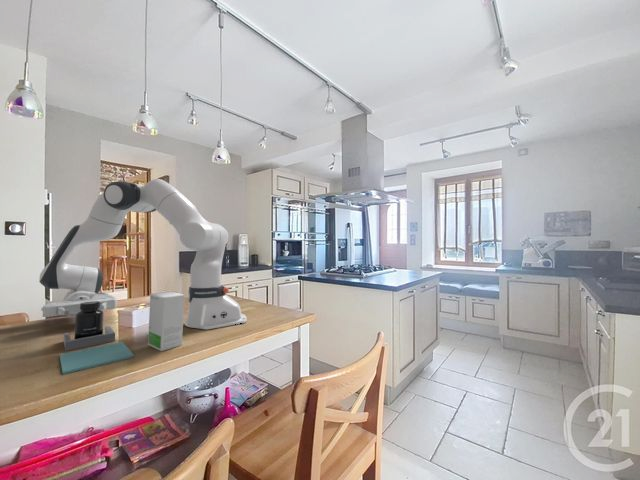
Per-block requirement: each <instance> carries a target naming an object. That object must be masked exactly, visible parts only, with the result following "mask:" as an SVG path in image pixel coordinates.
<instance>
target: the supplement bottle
mask: <svg viewBox="0 0 640 480" xmlns="http://www.w3.org/2000/svg"><path fill="white" fill-rule="evenodd" d="M99 308H100V302H99V301H90V302H83V303H81V304H80V310H81V311H80V312H78V313H77V314H76V316H74V338H73V340H74V339H79V338H85V337H90V336H96V335H101V334H104V310H100V309H99Z"/></svg>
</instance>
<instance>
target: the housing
mask: <svg viewBox="0 0 640 480" xmlns="http://www.w3.org/2000/svg"><path fill="white" fill-rule="evenodd" d="M62 338H63V339H62V340H63V341H62V343H63V346H64V350H65V352H67V351H71V350H72V351H73V350H76V349H82V348H85V347H92V346H96V345H102V344H103V345H104V344H107V343H111V342H112V343H113V342H115V341H116V332H115V331H114V330H113V328H112V327H111V326H110V325H107V326H104V333H103V334H101V335H96V336H90V337H85V338H79V339H74V338H73V339H71V336H70V333H69V332H66V333H65V332H64V333H63V336H62Z"/></svg>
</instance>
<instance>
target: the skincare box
mask: <svg viewBox="0 0 640 480" xmlns="http://www.w3.org/2000/svg"><path fill="white" fill-rule="evenodd" d="M149 297H150V298H149V315H148V316H149V319H148V320H149V321H148V338H147V339H148V340H147V345H148V346H149V347H151V348H153V349H156V350H157V351H160V352H164V351H168V350H171V349H174V348H177V347H180V346H182V345H183V333H184V332H183V330H184V328H183V327H184V312H185V311H184V309H185V294H182V293H179V292H175V291H171V290H170V291H169V290H168V291H161V292H155V293H150V295H149Z"/></svg>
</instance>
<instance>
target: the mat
mask: <svg viewBox="0 0 640 480" xmlns="http://www.w3.org/2000/svg"><path fill="white" fill-rule="evenodd" d="M134 356H135V354H134V353H133V352H132V351H131V350H130V348H129V347H128V346H127V344H125V342H124V341H119V342H114V343H109V344H105V345H104V344H103V345H100V346H95V347H90V348H86V349H85V348H84V349H79V350H76V351H71V352H66V353H61V354H59V362H60V366H61V373H62V375H66V374H71V373H75V372H78V371H82V370H83V371H84V370H87V369H91V368H94V367H95V368H96V367H99V366H104V365H106V364H111V363H116V362H120V361H123V360H127V359H133V358H134Z"/></svg>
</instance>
